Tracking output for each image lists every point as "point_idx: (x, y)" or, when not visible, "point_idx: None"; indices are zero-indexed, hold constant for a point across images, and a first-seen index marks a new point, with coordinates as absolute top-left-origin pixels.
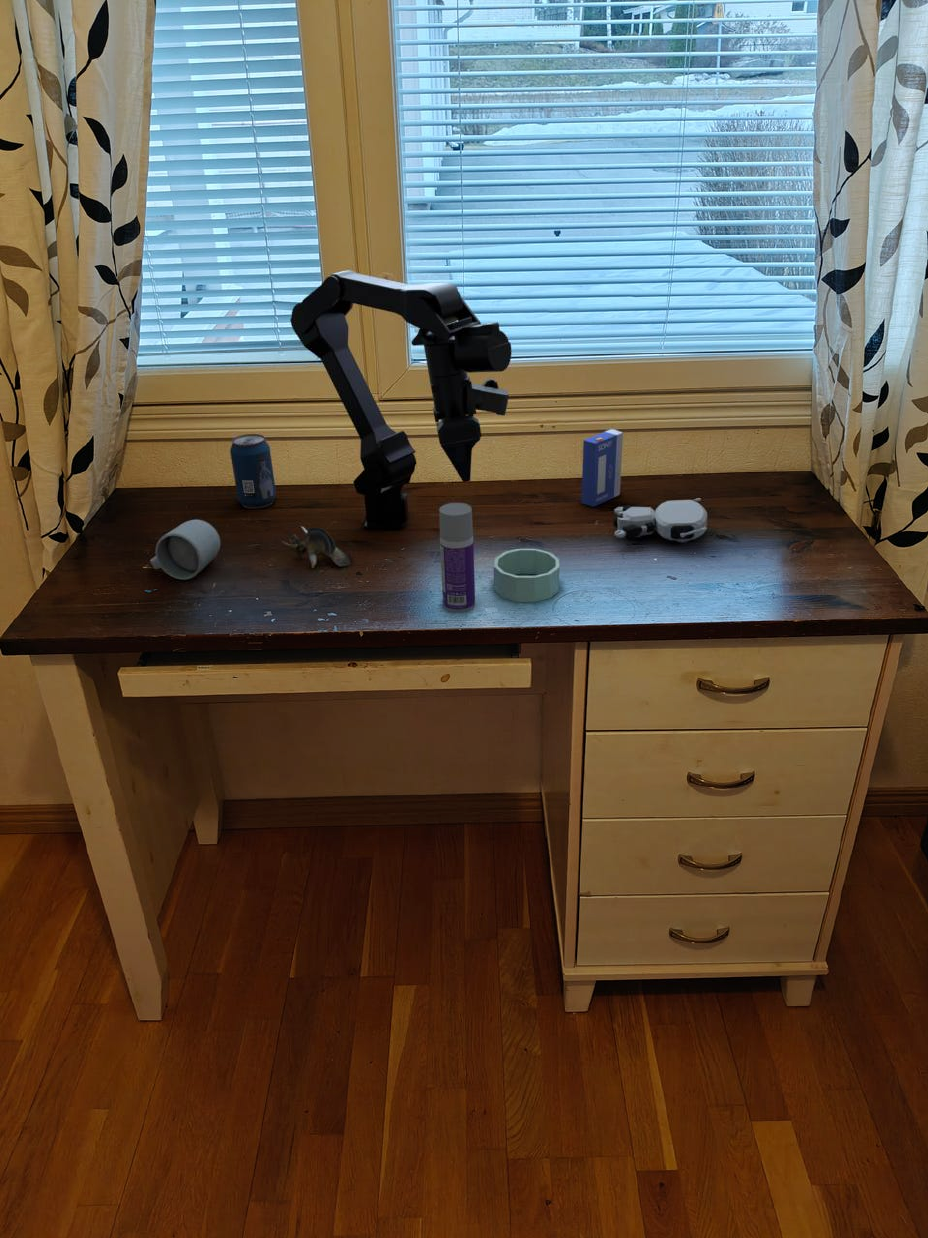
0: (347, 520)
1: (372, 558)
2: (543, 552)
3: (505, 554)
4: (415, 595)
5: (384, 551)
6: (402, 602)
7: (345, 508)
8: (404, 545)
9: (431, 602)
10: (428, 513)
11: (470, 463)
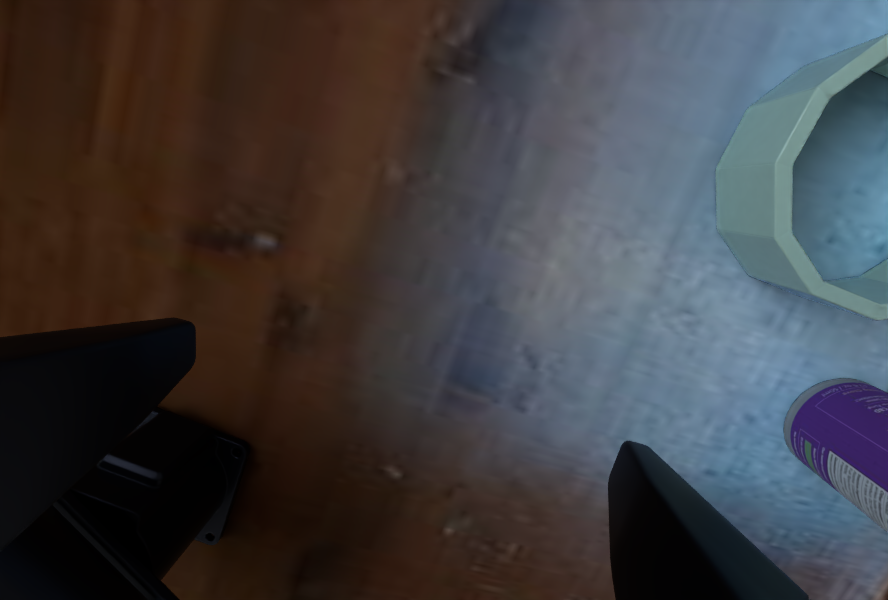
0: None
1: (428, 561)
2: (872, 67)
3: (797, 240)
4: None
5: (392, 522)
6: None
7: None
8: (369, 462)
9: (775, 488)
10: None
11: (778, 575)
